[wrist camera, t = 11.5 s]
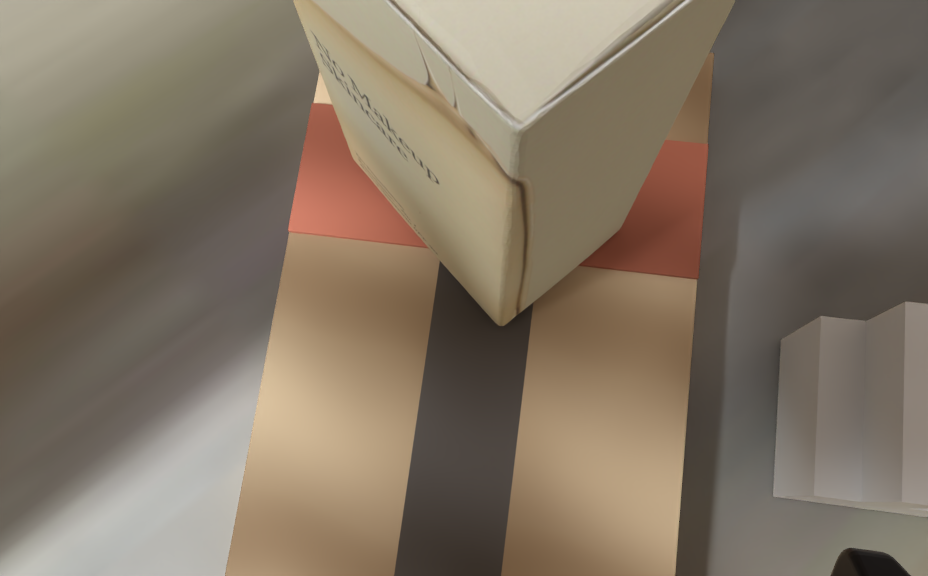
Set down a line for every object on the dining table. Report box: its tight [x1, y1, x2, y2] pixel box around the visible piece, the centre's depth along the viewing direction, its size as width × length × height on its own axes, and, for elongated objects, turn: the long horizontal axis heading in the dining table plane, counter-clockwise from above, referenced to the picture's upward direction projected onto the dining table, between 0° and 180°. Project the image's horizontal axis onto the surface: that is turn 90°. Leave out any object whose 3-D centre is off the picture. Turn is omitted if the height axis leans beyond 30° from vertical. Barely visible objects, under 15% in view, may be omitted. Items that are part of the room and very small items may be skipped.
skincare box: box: [293, 0, 736, 326], centre depth 17 cm, size 6×4×12 cm
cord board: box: [225, 53, 714, 576], centre depth 22 cm, size 17×10×1 cm, turn 172°
